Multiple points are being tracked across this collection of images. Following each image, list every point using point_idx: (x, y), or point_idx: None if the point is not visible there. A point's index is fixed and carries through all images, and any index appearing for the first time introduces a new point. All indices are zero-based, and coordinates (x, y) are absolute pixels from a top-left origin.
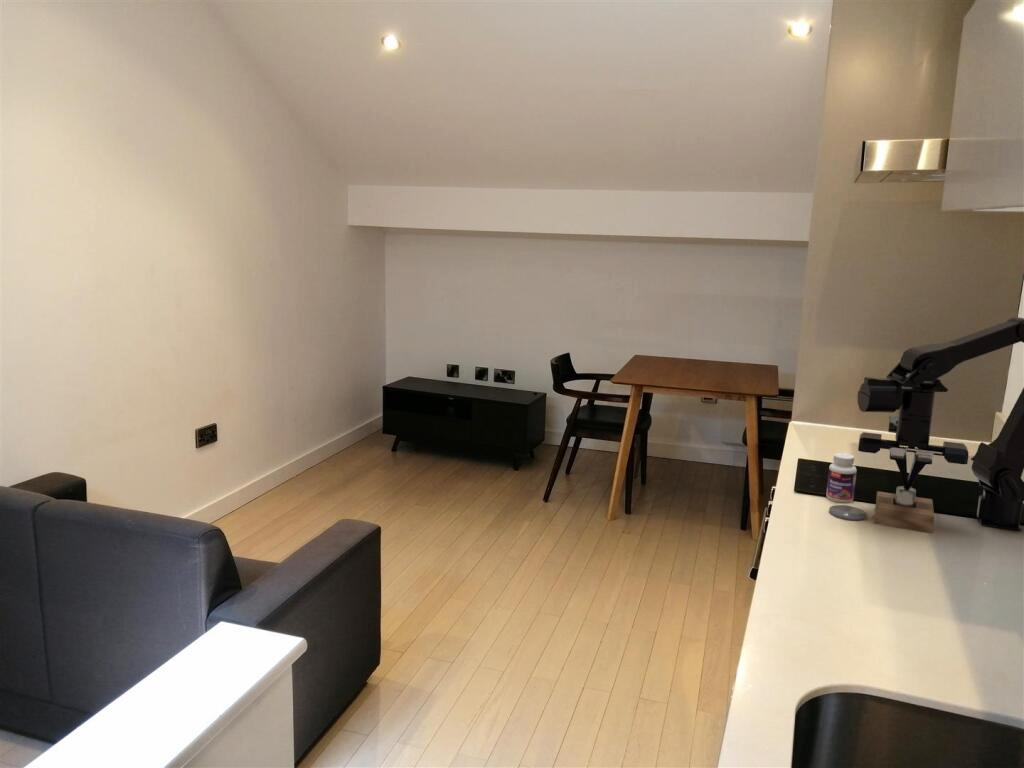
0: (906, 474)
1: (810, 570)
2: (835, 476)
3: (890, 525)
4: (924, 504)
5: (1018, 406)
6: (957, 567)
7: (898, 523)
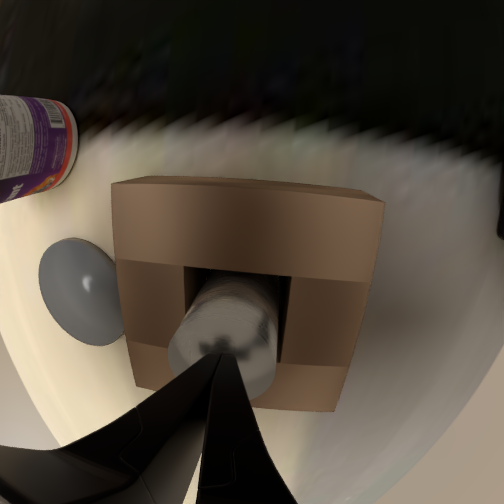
0: (185, 486)
1: None
2: None
3: None
4: (329, 302)
5: None
6: (325, 482)
7: None
